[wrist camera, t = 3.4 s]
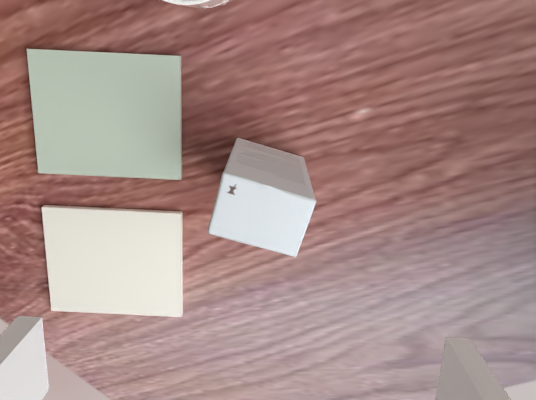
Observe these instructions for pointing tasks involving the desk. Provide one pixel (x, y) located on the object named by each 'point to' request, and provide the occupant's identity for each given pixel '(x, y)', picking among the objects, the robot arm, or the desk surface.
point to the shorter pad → (107, 113)
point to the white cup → (199, 3)
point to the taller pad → (114, 260)
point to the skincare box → (263, 198)
